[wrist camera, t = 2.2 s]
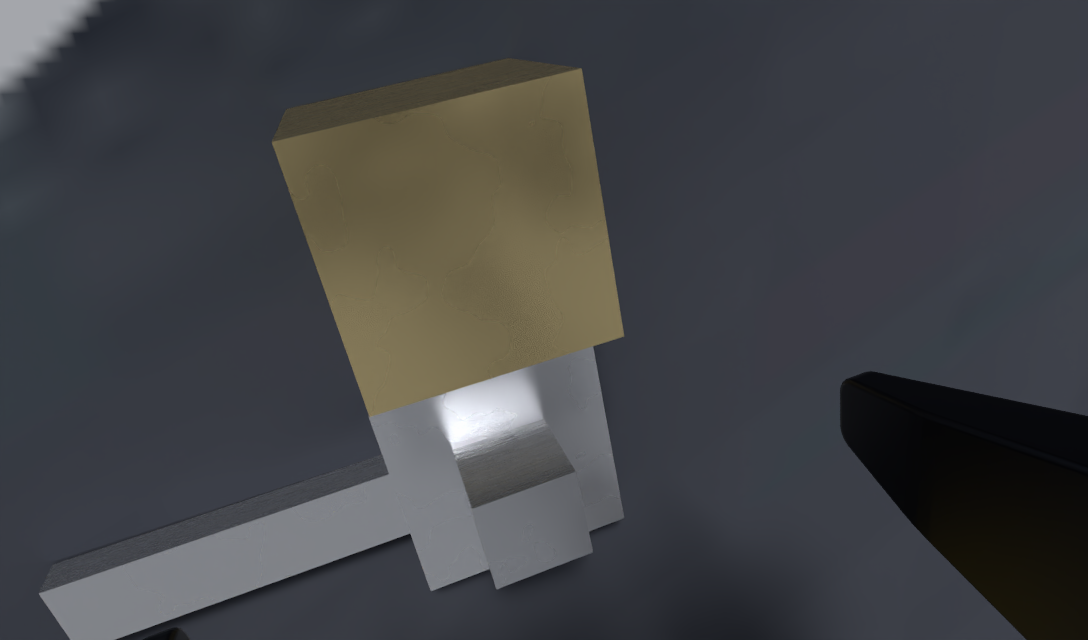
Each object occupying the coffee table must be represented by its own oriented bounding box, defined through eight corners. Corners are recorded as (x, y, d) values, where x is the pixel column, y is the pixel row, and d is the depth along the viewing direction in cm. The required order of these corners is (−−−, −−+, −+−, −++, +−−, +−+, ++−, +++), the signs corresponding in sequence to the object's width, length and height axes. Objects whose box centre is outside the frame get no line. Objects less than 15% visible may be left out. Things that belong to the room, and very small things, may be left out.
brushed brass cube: (508, 58, 19) (581, 68, 14) (548, 261, 22) (623, 336, 16) (286, 109, 18) (272, 141, 13) (356, 316, 20) (369, 416, 15)
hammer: (576, 326, 23) (632, 388, 19) (608, 493, 26) (662, 577, 22) (13, 503, 20) (-64, 624, 16) (123, 671, 22) (83, 809, 19)
